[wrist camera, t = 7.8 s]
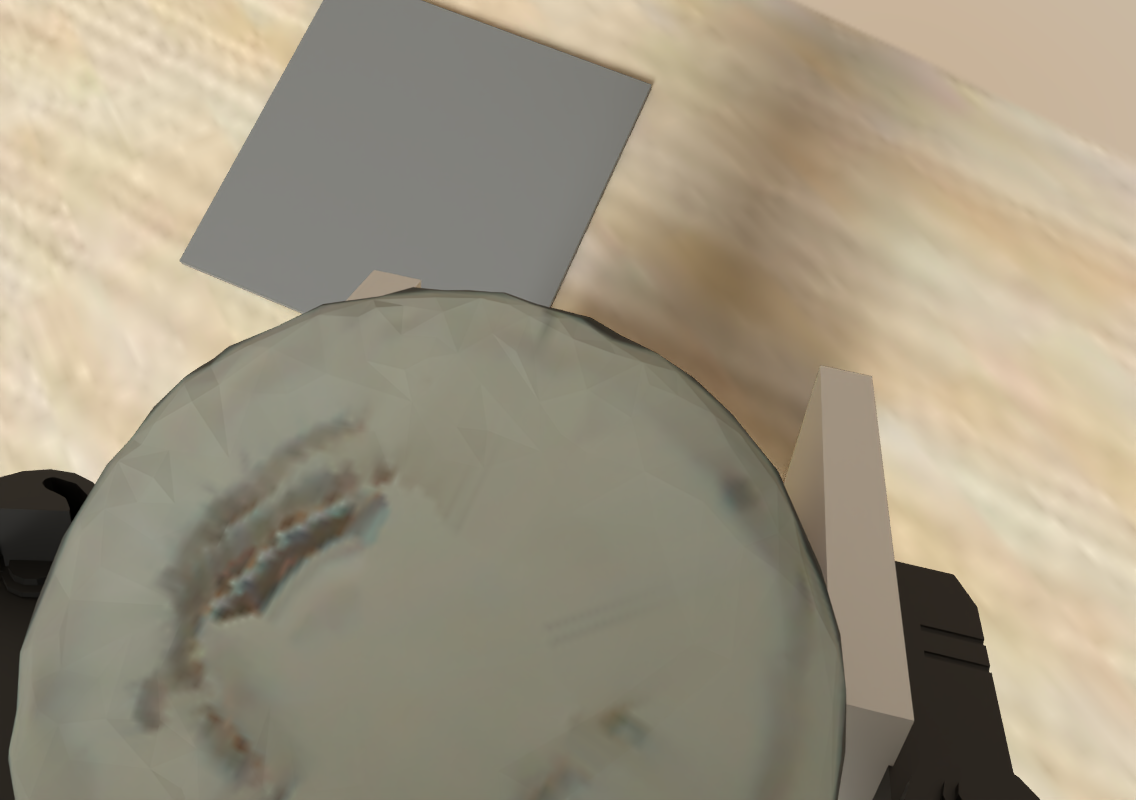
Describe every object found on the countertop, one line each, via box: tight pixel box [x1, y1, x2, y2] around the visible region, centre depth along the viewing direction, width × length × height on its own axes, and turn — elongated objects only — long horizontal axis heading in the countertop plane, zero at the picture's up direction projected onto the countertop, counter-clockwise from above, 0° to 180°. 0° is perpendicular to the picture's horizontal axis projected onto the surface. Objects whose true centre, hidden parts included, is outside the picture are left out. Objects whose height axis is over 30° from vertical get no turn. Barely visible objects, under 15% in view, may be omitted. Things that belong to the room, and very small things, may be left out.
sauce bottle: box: [8, 287, 846, 800], centre depth 14 cm, size 7×6×20 cm
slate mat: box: [180, 0, 651, 314], centre depth 40 cm, size 14×14×1 cm
